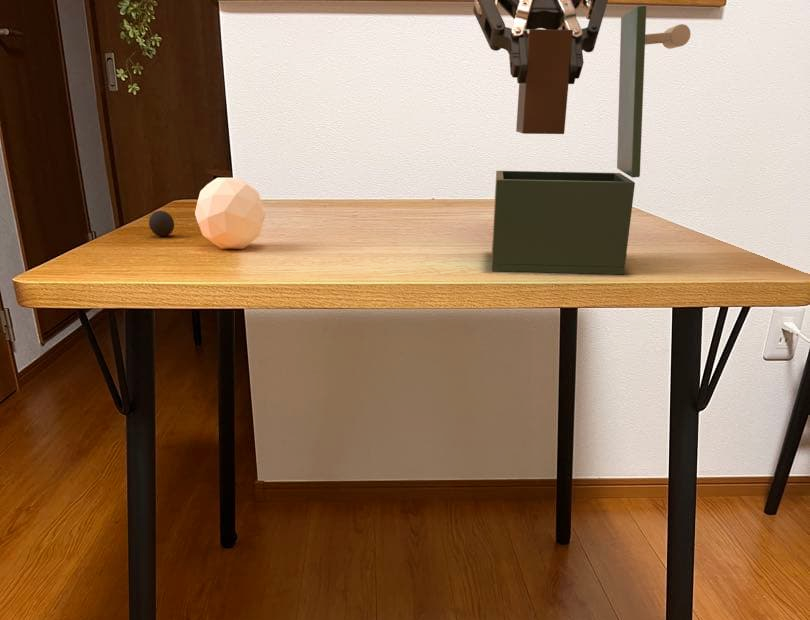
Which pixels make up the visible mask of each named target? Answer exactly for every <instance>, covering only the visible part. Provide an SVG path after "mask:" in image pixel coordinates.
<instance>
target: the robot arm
mask: <svg viewBox="0 0 810 620" xmlns="http://www.w3.org/2000/svg"><path fill="white" fill-rule="evenodd" d="M608 2H609V0H474V2H473V14H474V16H475V18H476V20H477V22H478V23H477V24H478V25H479V27H480V29H481V31H482V33H483V35H484V38H485V39H486V42H487V44H488V45H489V46H488V47H489V49H490V50H492V51H494V52H497V51H498V52H499V51H500V50H501V49H503V50H505V51H506V52H507V53H508V57H509V58H508V59H509V73H510V75H511V77H512V78H516V82H517V84H519V83H525V80H526V76H527V72H528V59H527V48H526V37H523V34H524V31H526V30H529V29H554V30H573V37H572V49H571V60H570V71H569V84H568V85H575V82H576V79H577V80H578V79H580V76H581V73H582V70H583V66H584V63H585V62H584V55H583V51H584V52H585V53H592V52H594V50H595V46H596V43H597V40H598V36H599V32H600V29H601V26H602V23H603V19H604V16H605V12H606V8H607V5H608ZM498 6H500V7H501V8H503V10H504V11H505V12H506V13H507V14H508V15H509V16H510V17H511V18H512V19H513V23H512V27H507V26H506V24H505V21H504V19H503V16H502V15H501V12H500V10H499V9H498ZM579 6H582V7H583V12H584V15H586V16H585V19H586V20H588V24H587V27H584V28H582V26H581V25H580V23H579V21H578V19H577V9H578V8H579Z"/></svg>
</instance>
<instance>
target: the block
mask: <svg viewBox="0 0 810 620" xmlns="http://www.w3.org/2000/svg"><path fill="white" fill-rule="evenodd" d="M523 37H526V48H527V59H528V72H527V76H526V80H525V83H518V94H517V95H518V97H517V109H516V110H517V111H516V112H517V113H516V125H515V127H516V129H515V130H516V131H515V132H516V133H519V134H523V135H524V134H525V135H528V134H529V135H532V134H533V135H564V134H565V130H566V117H567V107H568V94H569V85H570V84H569V71H570V60H571V49H572V37H573V30H554V29H543V28H539V29H527V30H526V31H524V34H523Z"/></svg>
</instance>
